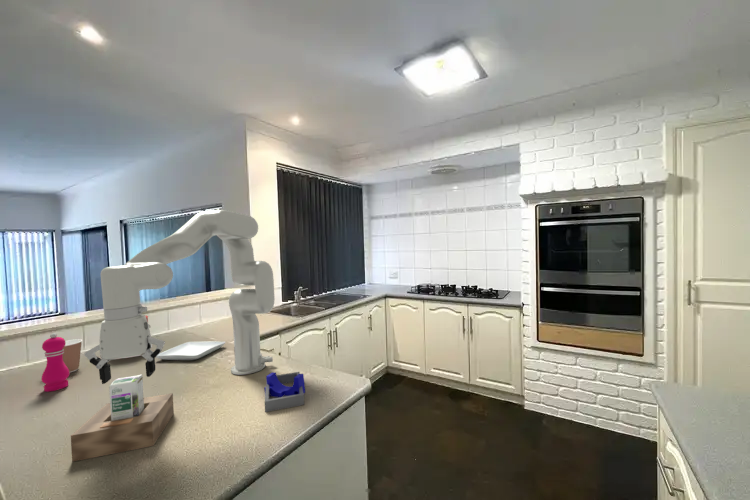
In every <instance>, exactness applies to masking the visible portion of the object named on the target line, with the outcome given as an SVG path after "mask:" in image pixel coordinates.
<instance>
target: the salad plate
mask: <svg viewBox="0 0 750 500" xmlns="http://www.w3.org/2000/svg"><path fill="white" fill-rule="evenodd" d="M225 344H226V341H218V340H217V341H215V340H213V341H212V340H211V341H207V340H206V341H187V342H186V341H185V342H184V343H181V344H178V345H176V346H174V347H171V348H169V349H167V350H165V351H161V352H160V353H159V354H158V355H157V356H156V357H155V359H158V360H159V359H160V360H165V361H166V360H167V361H194V360H199V359H200V358H203V357H205V356H206V355H208V354H211V353H213V352H214V351H216V350H218V349H220V348H221V347H223V346H224V345H225Z"/></svg>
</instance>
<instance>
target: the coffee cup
mask: <svg viewBox="0 0 750 500" xmlns="http://www.w3.org/2000/svg"><path fill="white" fill-rule="evenodd" d="M65 342H66V344H65V346H64V347H63V349H64V353H63V361H64V363H65V365H66V366H67V368H68V369H69V373H70V374H71V373H74V372H76V371H78V370H79V367H80V361H81V354H82V353H81V350H82V342H83V339H81V338H80V339H79V338H77V339H69V340H68V339H67V340H65Z"/></svg>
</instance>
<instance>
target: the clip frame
mask: <svg viewBox="0 0 750 500" xmlns="http://www.w3.org/2000/svg"><path fill="white" fill-rule="evenodd" d="M298 374H301V372H300V371H294V372H289V373H288V372H287V373H281V374H276V376H277V378H278V380H279V381H280V383H282V384H283V385H287V384H291V383H294V377H296V376H297V375H298ZM265 387H266V390H264V412H265V413H268V412H272V411H277V410H284V409H289V408H294V407H298V406H305V393H303V388H302V386H301V387H300V388H299V394H296V395H291V396H283V397H273V398H270V397H271V396H270V392H269V384H267V379H266V380H265Z"/></svg>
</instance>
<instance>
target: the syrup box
mask: <svg viewBox="0 0 750 500" xmlns="http://www.w3.org/2000/svg"><path fill="white" fill-rule="evenodd" d="M143 378H144V377H143V374H142V373H141V374H138V375H132V376H125V377H118V378H116V379H114V380H113V381H112V382H111V384H110V385H109V387H108V388H109V390H108V391H109V403H110V408H111V421H113V420H119V419H125V418H131V417H136V416H139V415H140V414H141V413H142V412H143V411H144V398H145V396H144V384H143V383H144V381H143Z"/></svg>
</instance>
